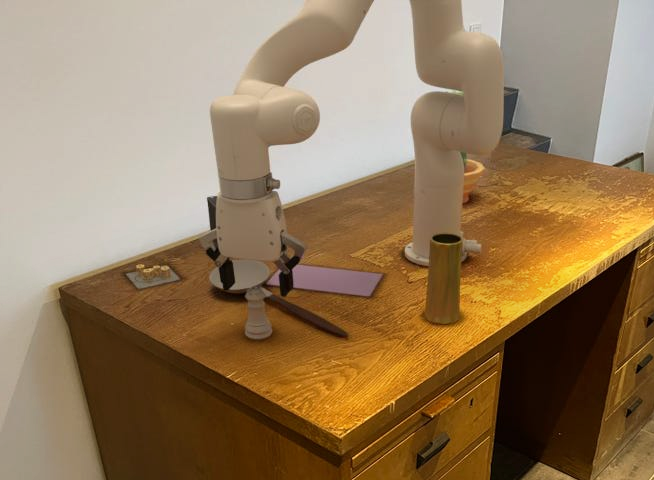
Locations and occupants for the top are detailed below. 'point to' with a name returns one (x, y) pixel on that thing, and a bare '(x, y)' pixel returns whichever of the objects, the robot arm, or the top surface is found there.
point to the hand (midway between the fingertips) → (257, 290)
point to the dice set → (152, 276)
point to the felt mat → (331, 280)
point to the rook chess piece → (257, 315)
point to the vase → (444, 278)
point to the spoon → (255, 276)
